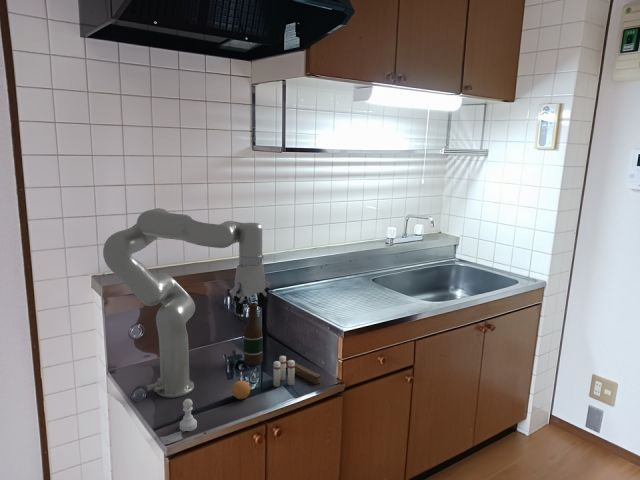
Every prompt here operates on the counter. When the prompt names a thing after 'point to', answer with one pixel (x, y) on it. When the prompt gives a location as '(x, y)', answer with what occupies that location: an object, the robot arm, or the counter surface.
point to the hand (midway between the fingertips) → (250, 310)
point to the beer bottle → (253, 338)
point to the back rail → (306, 373)
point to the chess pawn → (188, 417)
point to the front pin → (276, 373)
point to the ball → (241, 389)
